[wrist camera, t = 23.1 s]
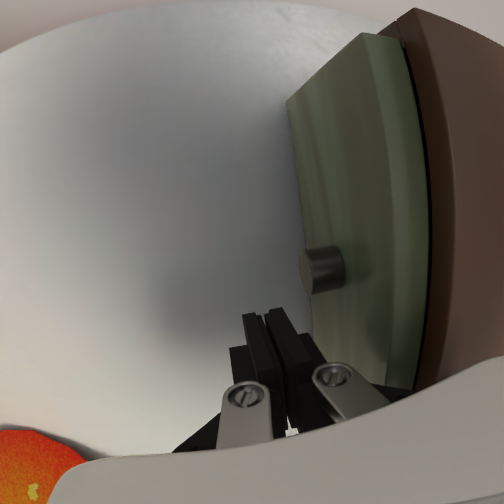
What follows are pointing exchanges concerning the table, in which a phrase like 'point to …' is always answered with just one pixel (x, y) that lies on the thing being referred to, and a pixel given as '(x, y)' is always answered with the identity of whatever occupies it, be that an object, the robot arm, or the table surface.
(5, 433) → the toy strawberry
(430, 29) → the cabinet
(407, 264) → the drawer
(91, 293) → the table surface
